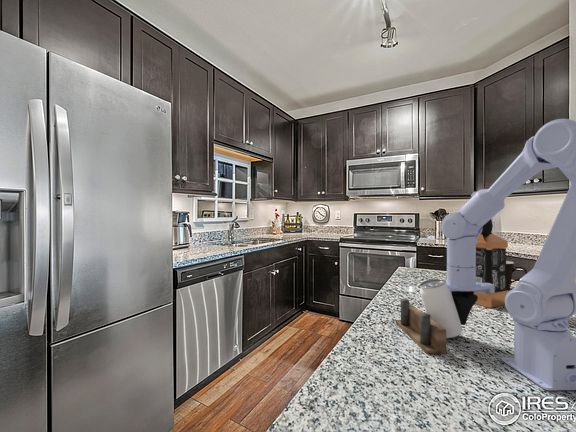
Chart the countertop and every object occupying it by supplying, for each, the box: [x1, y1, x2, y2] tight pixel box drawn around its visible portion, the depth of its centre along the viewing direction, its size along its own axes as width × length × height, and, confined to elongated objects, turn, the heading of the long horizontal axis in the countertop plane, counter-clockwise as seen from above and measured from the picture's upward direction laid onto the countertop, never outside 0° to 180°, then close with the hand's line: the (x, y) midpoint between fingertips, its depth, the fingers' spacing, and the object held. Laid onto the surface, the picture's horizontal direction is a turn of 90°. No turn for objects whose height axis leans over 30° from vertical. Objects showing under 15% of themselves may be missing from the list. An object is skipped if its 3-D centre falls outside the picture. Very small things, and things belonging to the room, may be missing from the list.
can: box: [419, 278, 464, 339], centre depth 66 cm, size 6×6×12 cm
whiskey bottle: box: [474, 218, 509, 309], centre depth 90 cm, size 10×10×32 cm
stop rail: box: [395, 298, 447, 355], centre depth 65 cm, size 16×4×7 cm, turn 1°
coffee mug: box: [506, 260, 528, 291], centre depth 103 cm, size 12×9×10 cm
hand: (460, 323), depth 66 cm, fingers closed
